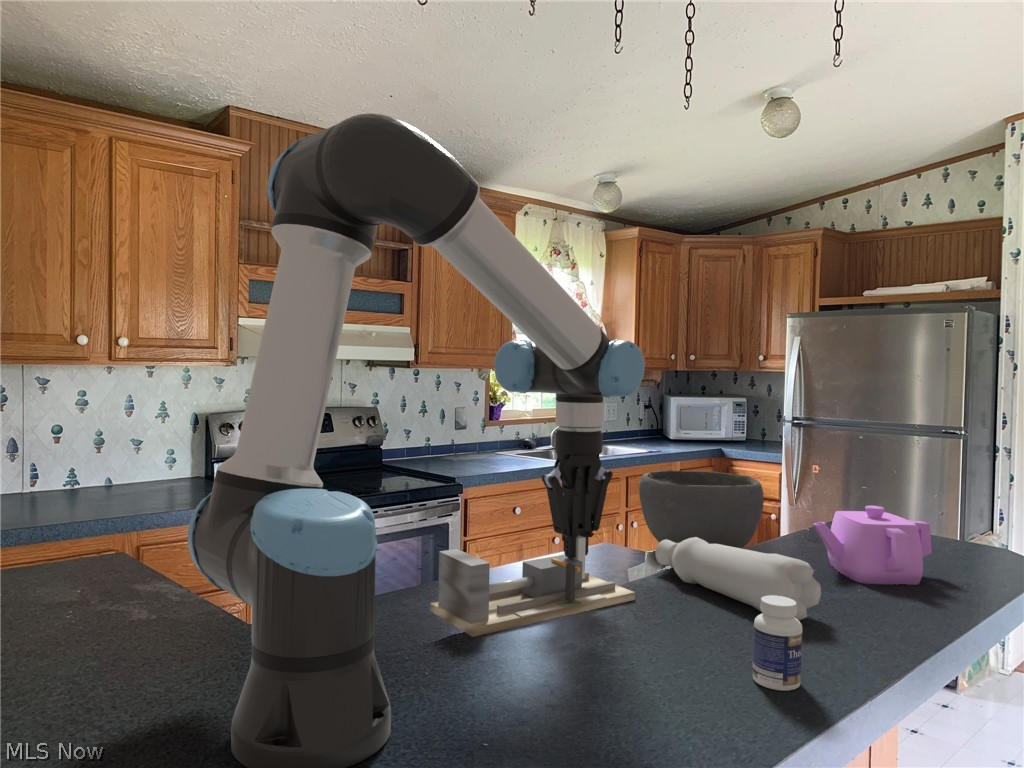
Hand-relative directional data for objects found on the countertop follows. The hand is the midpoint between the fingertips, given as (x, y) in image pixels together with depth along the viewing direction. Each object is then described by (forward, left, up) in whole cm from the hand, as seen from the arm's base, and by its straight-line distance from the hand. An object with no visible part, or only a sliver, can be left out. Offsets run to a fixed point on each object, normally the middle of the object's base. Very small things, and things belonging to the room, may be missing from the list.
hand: (575, 576), depth 117 cm
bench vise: (0, +8, -3) cm, 8 cm away
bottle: (-12, -22, -4) cm, 26 cm away
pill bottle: (-37, 0, -4) cm, 37 cm away
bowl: (+10, -40, -4) cm, 42 cm away
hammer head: (-5, +5, -1) cm, 8 cm away
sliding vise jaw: (-2, +9, -2) cm, 9 cm away
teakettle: (-17, -55, -4) cm, 58 cm away
